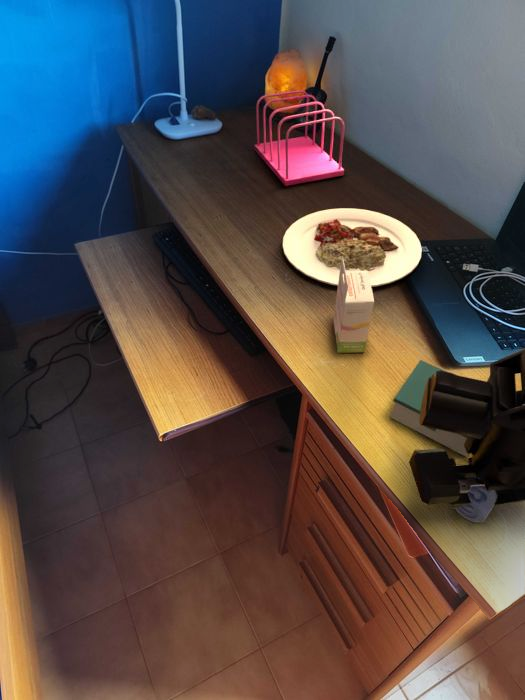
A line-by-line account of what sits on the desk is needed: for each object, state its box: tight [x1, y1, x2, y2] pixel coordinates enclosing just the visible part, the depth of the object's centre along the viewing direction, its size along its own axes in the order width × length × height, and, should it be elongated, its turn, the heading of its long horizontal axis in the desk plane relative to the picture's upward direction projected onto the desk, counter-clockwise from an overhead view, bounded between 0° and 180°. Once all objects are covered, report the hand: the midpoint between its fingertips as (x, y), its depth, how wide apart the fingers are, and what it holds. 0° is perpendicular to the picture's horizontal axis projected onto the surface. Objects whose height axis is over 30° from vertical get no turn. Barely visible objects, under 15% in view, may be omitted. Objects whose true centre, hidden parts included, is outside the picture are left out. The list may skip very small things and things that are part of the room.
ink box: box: [333, 257, 375, 354], centre depth 79 cm, size 9×5×15 cm, turn 179°
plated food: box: [282, 207, 423, 288], centre depth 102 cm, size 30×30×3 cm
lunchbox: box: [390, 359, 469, 458], centre depth 70 cm, size 12×10×5 cm
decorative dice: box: [454, 486, 498, 523], centre depth 60 cm, size 4×4×4 cm
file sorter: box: [254, 89, 345, 187], centre depth 128 cm, size 17×25×16 cm
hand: (472, 503), depth 61 cm, fingers closed on decorative dice, 5 cm apart
